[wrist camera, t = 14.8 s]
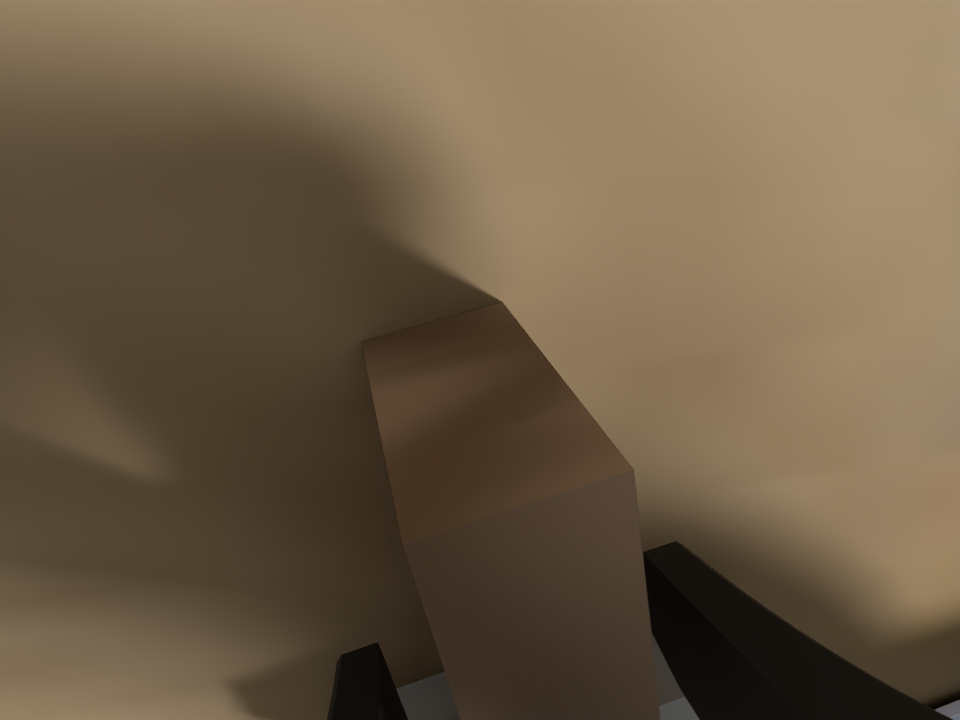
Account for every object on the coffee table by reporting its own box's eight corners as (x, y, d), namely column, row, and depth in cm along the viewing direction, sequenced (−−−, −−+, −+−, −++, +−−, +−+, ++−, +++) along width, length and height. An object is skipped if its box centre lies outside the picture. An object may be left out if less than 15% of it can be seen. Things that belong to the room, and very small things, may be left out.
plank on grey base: (656, 257, 11) (878, 391, 7) (682, 617, 16) (832, 842, 11) (187, 389, 10) (103, 640, 6) (349, 736, 15) (369, 1034, 10)
